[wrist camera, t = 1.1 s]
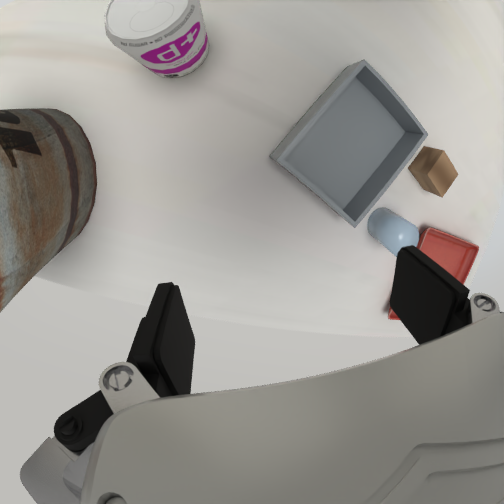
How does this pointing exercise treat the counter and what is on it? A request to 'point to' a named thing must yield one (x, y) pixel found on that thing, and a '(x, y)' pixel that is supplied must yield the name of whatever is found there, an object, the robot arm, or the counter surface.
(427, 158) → the walnut cube
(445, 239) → the plant saucer
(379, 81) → the tote
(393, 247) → the blue cylinder
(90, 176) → the barrel
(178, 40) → the supplement can
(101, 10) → the counter surface
